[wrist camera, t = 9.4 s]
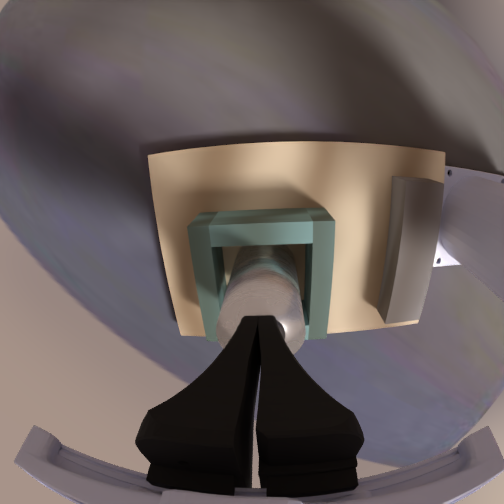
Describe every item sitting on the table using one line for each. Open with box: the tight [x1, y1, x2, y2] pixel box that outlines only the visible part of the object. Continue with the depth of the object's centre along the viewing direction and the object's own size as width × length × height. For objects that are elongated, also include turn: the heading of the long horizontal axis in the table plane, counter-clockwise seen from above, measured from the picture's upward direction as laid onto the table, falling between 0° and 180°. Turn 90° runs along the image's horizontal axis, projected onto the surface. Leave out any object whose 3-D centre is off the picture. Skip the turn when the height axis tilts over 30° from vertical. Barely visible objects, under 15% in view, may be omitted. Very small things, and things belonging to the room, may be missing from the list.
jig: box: [148, 141, 445, 341], centre depth 17 cm, size 20×14×4 cm
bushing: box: [216, 244, 306, 355], centre depth 15 cm, size 4×4×7 cm
